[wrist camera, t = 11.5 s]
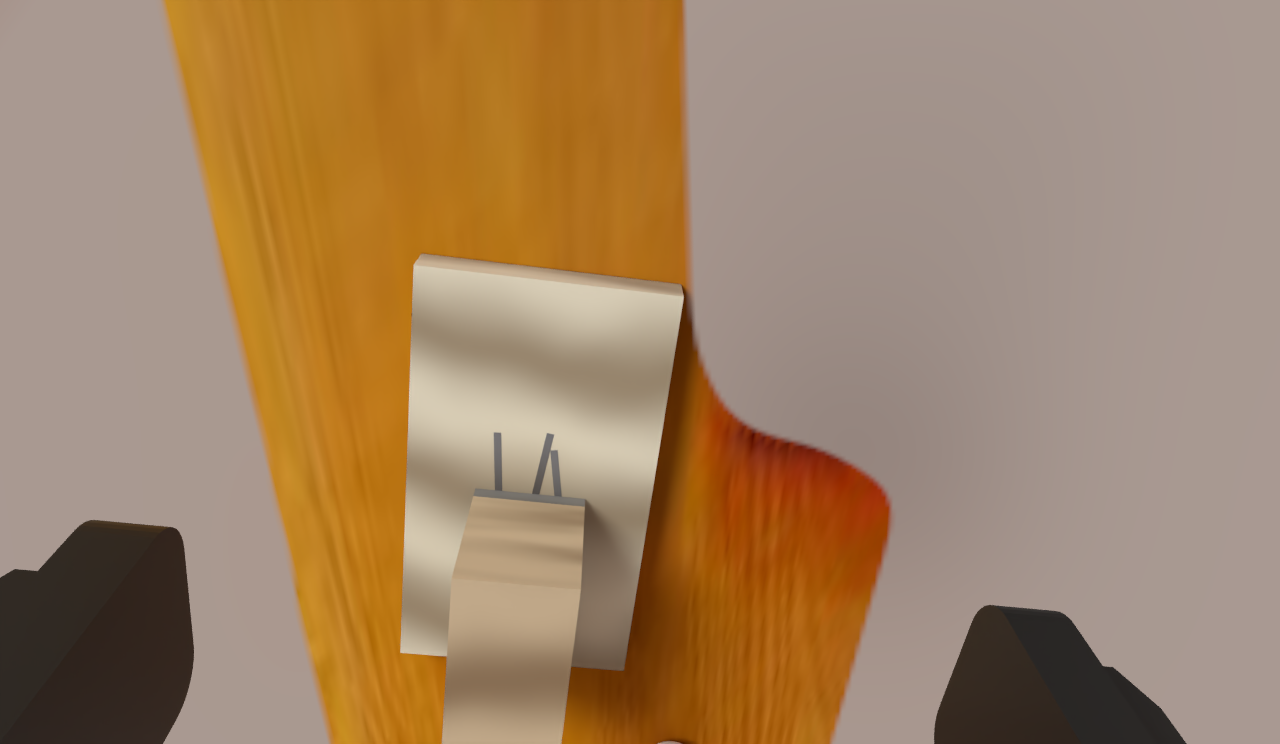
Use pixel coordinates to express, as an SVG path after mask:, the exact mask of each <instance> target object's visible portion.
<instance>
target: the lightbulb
mask: <svg viewBox="0 0 1280 744" xmlns="http://www.w3.org/2000/svg"><path fill="white" fill-rule="evenodd" d="M658 744H682V743H679V742H675V741H664V742H660V743H658Z"/></svg>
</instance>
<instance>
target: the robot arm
mask: <svg viewBox="0 0 1280 744" xmlns="http://www.w3.org/2000/svg"><path fill="white" fill-rule="evenodd" d="M193 660H194V645H193V634H192V624H191V615H190V604H189V593H188V583H187V574H186V562H185V552H184V545H183V540H182V537H181V535H180V533H179V531H178V530H177V529H175V528H173V527H164V526H153V525H142V524H131V523H120V522H110V521H99V520H90V521H87V522H85V523H83V524H82V525H80V526H79V527H78V528H77V529H76V530H75V531H74V532H73V533H72V534H71V535H70V536H69V537H68V538H67V539H66V541H65V542H64V543H63V544H62V545H61V546H60V547H59V548H58V549H57V550H56V552H55V553H54V554H53V555H52V556H51V557H50V558H49V559H48V560H47V562H46V563H45V564H44V565H43V566H42V567H41V568H40V569H39V571H30V570H29V571H28V570H18V569H15V570H13V571H11V572H9V573H7V574H6V575H4V576H2V577H1V578H0V744H163V742H164V741H165V739H166V737H167V735H168V733H169V732H170V730H171V728H172V726H173V725H174V723H175V721H176V719H177V717H178V715H179V713H180V711H181V708H182V706H183V704H184V701H185V698H186V695H187V692H188V688H189V684H190V680H191V675H192V669H193ZM934 742H935V743H934V744H1186V743H1185V741H1184V740H1183V738H1182V737H1181V736H1180V734H1179V733H1178V731H1177V730H1176V729H1175V727H1174V726H1173V725H1172V724H1171V722H1170V720H1169V719H1168V718H1167V716H1166V715H1165V714H1164V712H1163V711H1162V709H1161V708H1159V706H1157V705H1156V704H1155V703H1154V702H1153V701H1151V700H1150V699H1149V698H1148V697H1147V696H1146V695H1145V694H1144V693H1142V692H1141V691H1140V690H1139V689H1138V688H1137V687H1135V686H1134V685H1133V684H1132V683H1131V682H1130V681H1128V680H1127V679H1126V678H1125V677H1124V676H1122V675H1121V674H1120V673H1119V672H1118V671H1116V669H1114V668H1113V667H1104V666H1102V664H1101V663H1100V662H1099V660H1098V658H1097V657H1096V656H1095V654H1094V653H1093V652H1092V650H1091V648H1090V647H1089V645H1088V644H1087V642H1086V641H1085V640H1084V638H1083V637H1082V635H1081V634H1080V632H1079V631H1078V629H1077V628H1076V626H1075V625H1074V624H1073V623H1072V621H1071V620H1070V619H1069V618H1068V617H1067V616H1066V615H1064V614H1063V613H1061V612H1057V611H1049V610H1037V609H1027V608H1015V607H1005V606H994V605H988V606H984V607H983V608H981V609H980V610H979V611H978V612H977V614H976V615H975V617H974V619H973V621H972V623H971V626H970V629H969V631H968V634H967V636H966V639H965V642H964V644H963V647H962V649H961V652H960V655H959V658H958V660H957V663H956V665H955V668H954V670H953V673H952V676H951V678H950V681H949V684H948V686H947V689H946V691H945V694H944V696H943V699H942V702H941V704H940V707H939V710H938V713H937V717H936V722H935V732H934Z"/></svg>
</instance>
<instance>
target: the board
mask: <svg viewBox="0 0 1280 744" xmlns="http://www.w3.org/2000/svg"><path fill="white" fill-rule="evenodd" d="M683 300H684V295H683V291H682V286H681V284H674V283H665V282H657V281H649V280H640V279H632V278H623V277H615V276H606V275H598V274H590V273H581V272H573V271H564V270H556V269H547V268H539V267H530V266H522V265H514V264H505V263H497V262H488V261H480V260H471V259H463V258H454V257H446V256H438V255H429V254H421V255H420V257H419V258H418V260H417V261H416V262H415V264H414V272H413V301H412V331H411V360H410V389H409V418H408V448H407V477H406V506H405V536H404V565H403V594H402V624H401V653H411V654H423V655H435V656H447V647H448V630H449V613H450V596H451V578H452V575H453V571H454V567H455V563H456V560H457V556H458V552H459V548H460V544H461V541H462V537H463V533H464V529H465V526H466V522H467V518H468V514H469V510H470V507H471V503H472V499H473V495H474V492H475V488H477V489H487V490H498V491H508V492H518V493H529V494H539V495H550V496H560V497H571V498H581V499H585V514H584V535H583V557H582V578H581V593H580V601H579V609H578V617H577V625H576V632H575V640H574V648H573V656H572V663H571V667H582V668H594V669H606V670H618V671H624V666H625V660H626V654H627V647H628V641H629V635H630V629H631V623H632V616H633V610H634V604H635V598H636V591H637V585H638V579H639V573H640V567H641V560H642V554H643V548H644V542H645V536H646V529H647V523H648V517H649V511H650V505H651V498H652V492H653V486H654V480H655V474H656V467H657V461H658V455H659V449H660V442H661V436H662V430H663V424H664V418H665V411H666V405H667V399H668V393H669V387H670V380H671V374H672V368H673V362H674V356H675V349H676V343H677V337H678V331H679V325H680V318H681V312H682V306H683Z"/></svg>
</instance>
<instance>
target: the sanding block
mask: <svg viewBox="0 0 1280 744" xmlns="http://www.w3.org/2000/svg"><path fill="white" fill-rule="evenodd" d="M584 514H585V499H581V498H571V497H560V496H550V495H539V494H529V493H518V492H508V491H498V490H487V489H477V488H475V492H474V495H473V499H472V503H471V507H470V510H469V514H468V518H467V522H466V526H465V529H464V533H463V537H462V541H461V544H460V548H459V552H458V556H457V560H456V563H455V567H454V571H453V575H452V578H451V596H450V613H449V630H448V647H447V665H446V682H445V699H444V716H443V734H442V744H561V741H562V733H563V726H564V718H565V710H566V702H567V695H568V687H569V679H570V671H571V663H572V656H573V648H574V640H575V632H576V625H577V617H578V609H579V601H580V593H581V578H582V557H583V535H584Z"/></svg>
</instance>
